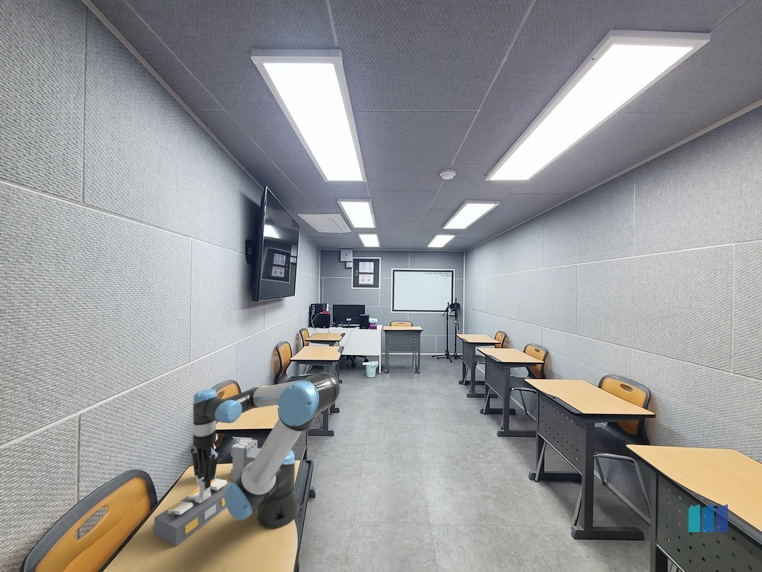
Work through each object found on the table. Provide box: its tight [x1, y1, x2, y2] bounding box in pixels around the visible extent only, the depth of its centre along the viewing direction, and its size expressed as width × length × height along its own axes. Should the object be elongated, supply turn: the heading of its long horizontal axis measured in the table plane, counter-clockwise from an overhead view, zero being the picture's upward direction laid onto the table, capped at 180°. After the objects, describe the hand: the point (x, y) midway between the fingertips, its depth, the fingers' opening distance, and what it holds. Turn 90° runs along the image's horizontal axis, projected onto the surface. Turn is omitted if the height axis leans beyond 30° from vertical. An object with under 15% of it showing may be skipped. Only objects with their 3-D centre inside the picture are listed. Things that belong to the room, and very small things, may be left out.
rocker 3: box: [210, 478, 228, 490], centre depth 117 cm, size 7×4×1 cm, turn 67°
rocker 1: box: [167, 501, 193, 515], centre depth 104 cm, size 7×4×1 cm, turn 67°
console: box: [153, 477, 232, 547], centre depth 110 cm, size 12×24×8 cm, turn 157°
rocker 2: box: [186, 487, 211, 503], centre depth 110 cm, size 7×4×1 cm, turn 67°
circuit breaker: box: [230, 438, 261, 482], centre depth 134 cm, size 8×14×15 cm, turn 78°
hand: (204, 495), depth 109 cm, fingers closed, pressing on rocker 2
